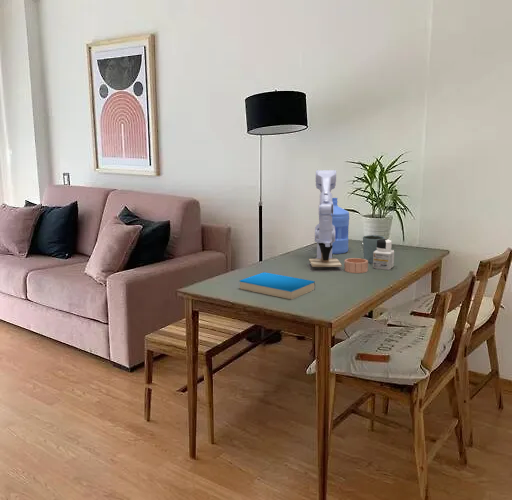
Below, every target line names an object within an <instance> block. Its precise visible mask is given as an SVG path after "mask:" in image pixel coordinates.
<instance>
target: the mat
mask: <svg viewBox="0 0 512 500" xmlns="http://www.w3.org/2000/svg"><path fill="white" fill-rule="evenodd" d="M306 266H307V268H308V270H309V272H311V273H315V272H319V273H320V272H324V273H325V272H326V273H327V272H345V270H344V268H343V267H312V265H311V263H306Z"/></svg>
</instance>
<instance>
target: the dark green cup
mask: <svg viewBox="0 0 512 500" xmlns="http://www.w3.org/2000/svg"><path fill="white" fill-rule="evenodd" d="M379 239H386V238H385V236H382V235H377V234H375V235H374V234H369V235H364V236H362V242H363V247H362V248H363V259H366V260H368V264H373V252H374V251H376V250H377V240H379Z"/></svg>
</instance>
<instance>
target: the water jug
mask: <svg viewBox="0 0 512 500" xmlns="http://www.w3.org/2000/svg"><path fill="white" fill-rule="evenodd" d="M332 202H333V216H332V213H331V216H332V225H334V226H335V242H333V244H332V246H333V247H332V255H340V254H345V253H347V252H349V224H350V213H349V211H348V210H346V209H344V208H343V207H341V206H339V205H338V203H339V202H338V197H332ZM319 221H320V220H319V219H318V222H319Z"/></svg>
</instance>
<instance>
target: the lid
mask: <svg viewBox="0 0 512 500" xmlns="http://www.w3.org/2000/svg"><path fill="white" fill-rule="evenodd" d="M308 261H309V264H311V265H312V267H342V265H343V264H342V263H341V262H340V260H339V259H338V258H336V257H332V258H329V259H328V260H323V256H322V252H321V258H320V259H315V258H308ZM342 268H343V267H342Z"/></svg>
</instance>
